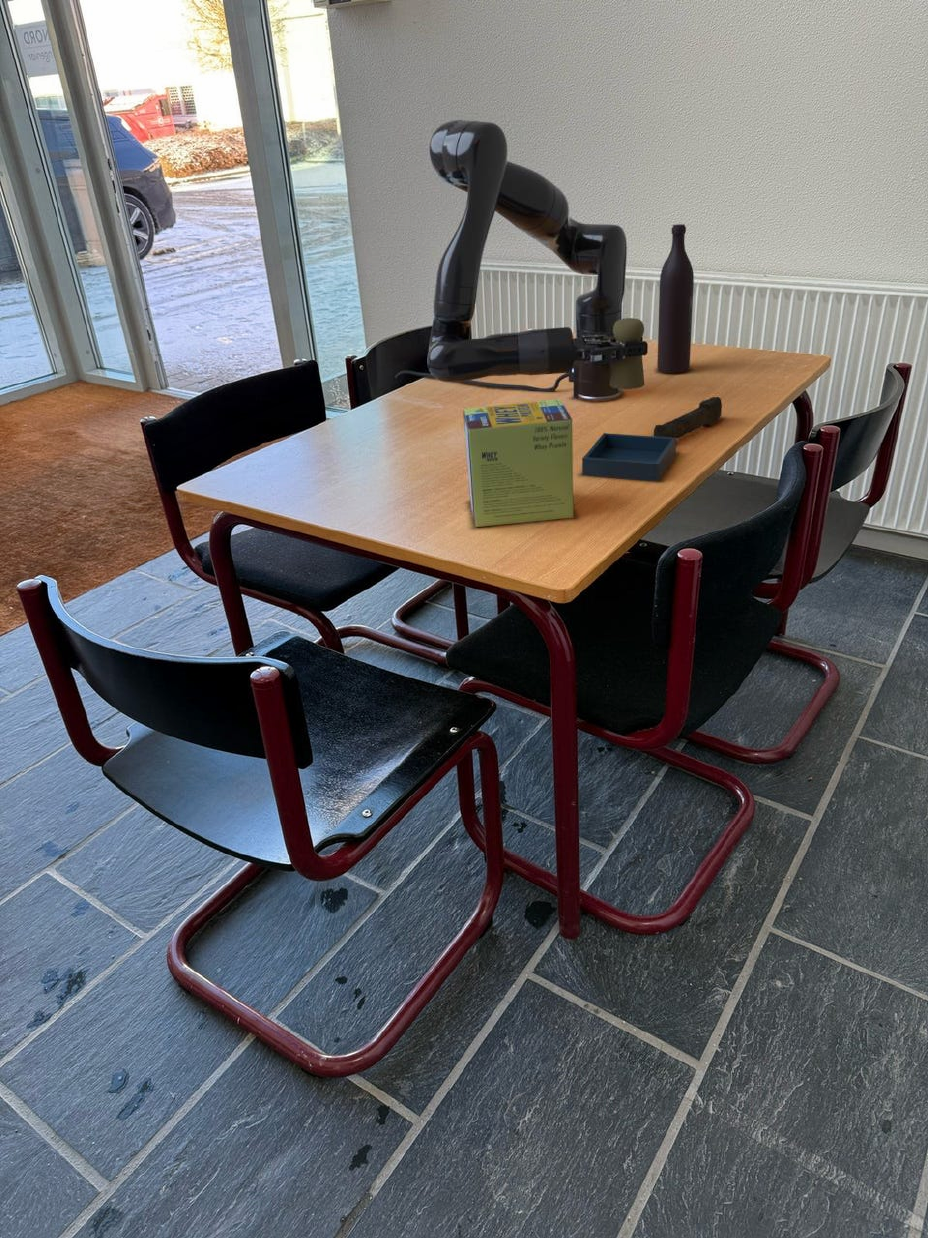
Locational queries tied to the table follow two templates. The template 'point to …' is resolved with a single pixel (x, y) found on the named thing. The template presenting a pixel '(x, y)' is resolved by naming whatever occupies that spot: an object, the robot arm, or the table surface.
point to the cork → (631, 367)
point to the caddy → (629, 457)
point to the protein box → (519, 462)
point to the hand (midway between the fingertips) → (644, 344)
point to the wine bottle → (675, 307)
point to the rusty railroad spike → (692, 420)
